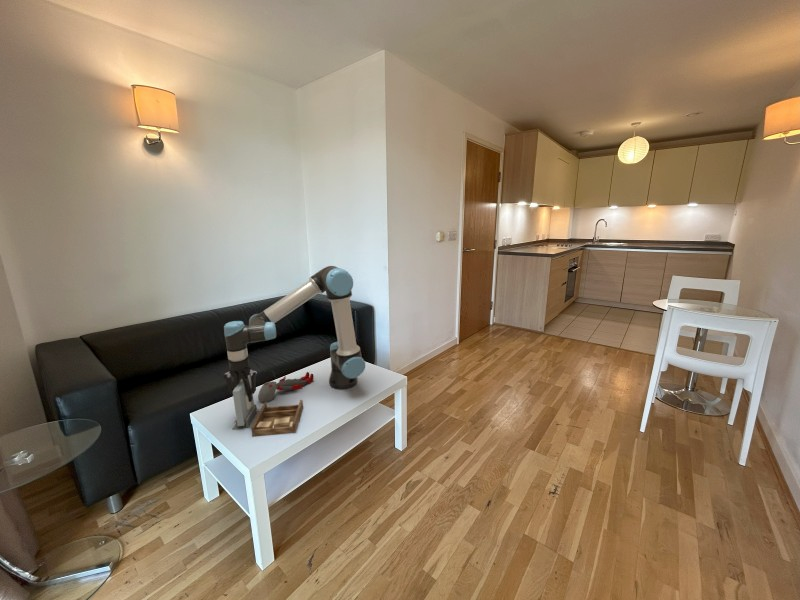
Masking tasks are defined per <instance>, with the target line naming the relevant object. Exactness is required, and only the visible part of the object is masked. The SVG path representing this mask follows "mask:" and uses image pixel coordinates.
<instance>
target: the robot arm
mask: <svg viewBox="0 0 800 600" xmlns="http://www.w3.org/2000/svg"><path fill="white" fill-rule="evenodd" d="M353 288H354V280H353V276H352V275H351V274H350V273H349V271H347V270H346V269H344V268H340V267H338V266H335V265H328V266H326V267H323V268H322V269H320V270H319V271H318V272H316V273H314V274H313V275H311V276H310V277H309V279H308V281H306V282H305V283H304V284H302V285H300V286H299V287H297V288H295V289H294V290H293V291H291V292H289V293H288V294H287V295H285V296H284V297H282V298H280V299H279V300H278V301H276V302H275V303H273V304H272V305H270V306H269V307H267V308H266V309H264V310H263V311H261V312H260V313H255V314H253V315H252V316H250V317H249V320H248V324H247V325H246V324H245V323H244V321H242V320H233V321H229V322H227V323H225V324H224V326H223V331H224V332H223V334H224V341H225V345H226V351H227V352H226V353H227V359H228V366H229V371H228V372H227V371H226V372H224V374H223V375H222V376H223V378H224V380H225V382H226V385H227V389H228V392H229V396H233V390H234V389H235V387H236V386H237V385H238V383H239V382H240V381H241V379H242V380H243V382H244V385H245V389H246V392H247V395H246V403H247V410H249V409H250V407H251V401H252V394H253V395H254V394H255V393H256V391H257V374H258V370H256V369H255V370H253V369H252V368H251V367H250V360H249V354H248V345H247V344H252V343H257V342H259V343H260V342H265V341H269V340H274V339H276V338H277V329H276V324H275V323H277V322H278V321H280V320H281V319H283V318H284V317H286V316H287V315H289V314H290V313H292V312H293V311H295V310H296V309H297V308H299V307H300V306H302V305H303V304H305V303H306V302H308V301H309V300H311V299H313V298H314V297H315V296H317V295H318V294H323V293H325V295H326V299H327V300H328V301H329V302H330V303H331V310H332V315H333V321H334V327H335V334H336V339H337V341H335V342H333V343H331V344H330V346H329V352H330V353H329V354H330V355H329V356H330V367H331V371H330V376H329V379H328V383H329V384H328V385H329V386H330V388H332V389H336V390H345V389H350V388H353V387H355V386H356V384H357V383H358V377H360V376H361V375H362V374H363V373H364V371H365V370H366V362H365V359H364V358H363V357H362V352H361V351H362V350H361V347H360V346H359V345H358V344H357V339H356V332H355V327H354V321H353V320H354V319H353V313H352V306H351V302H350V301H351V300H350V299H351V297H352V296H353V292H352V290H353ZM248 375H250V377H251V386H250V383H249V379H248ZM232 377H233V380H232Z"/></svg>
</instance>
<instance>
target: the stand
mask: <svg viewBox="0 0 800 600" xmlns="http://www.w3.org/2000/svg"><path fill="white" fill-rule="evenodd" d="M257 408H258V407H257V404H254V406H253V408H252V410H251V411H250V413H249V415H248V417H247V418H246V420H245V421H246V423H245V425H244V426H238V425H237V418H236V419H235V422H234V423H235V424H234V425H233V427H232V429H231V430H232V431H233V430H244V429H251V427H252V425H253V423H254V422H255V420H256V418H257V416H258V414H259V412H260V410H258V409H257Z"/></svg>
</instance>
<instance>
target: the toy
mask: <svg viewBox="0 0 800 600" xmlns="http://www.w3.org/2000/svg"><path fill="white" fill-rule="evenodd" d="M314 377H315V376H314V373H311V374H310V371H309V372H308V371H307V372H306V373H305V375H304V376H301V377H299V378H293V379H292V378H288V379H287V378H286V375H284V377H283V378H281V379H279V380H278V382H277V381H267V382H265V383H263V384H262V386H261V388H260V390H259V391H258V395H257V397H258V401H259V402H260V403H264V402H267V403H268V402H270V401H271V402H272V400H273V399H274V397H275V395H276V391H277V390H278V391H297V390H301V389H302V390H303V388H304V386H305V385H307V384H311V383H314Z"/></svg>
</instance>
